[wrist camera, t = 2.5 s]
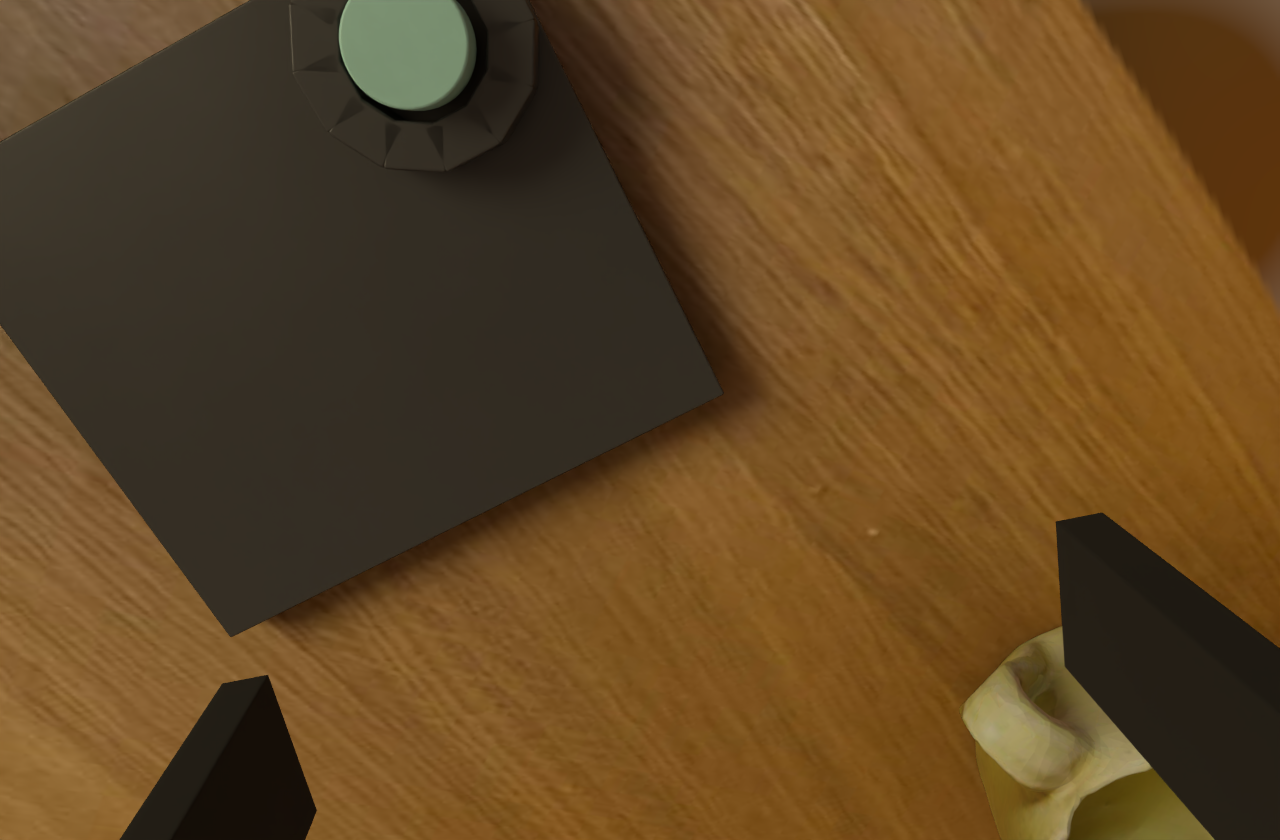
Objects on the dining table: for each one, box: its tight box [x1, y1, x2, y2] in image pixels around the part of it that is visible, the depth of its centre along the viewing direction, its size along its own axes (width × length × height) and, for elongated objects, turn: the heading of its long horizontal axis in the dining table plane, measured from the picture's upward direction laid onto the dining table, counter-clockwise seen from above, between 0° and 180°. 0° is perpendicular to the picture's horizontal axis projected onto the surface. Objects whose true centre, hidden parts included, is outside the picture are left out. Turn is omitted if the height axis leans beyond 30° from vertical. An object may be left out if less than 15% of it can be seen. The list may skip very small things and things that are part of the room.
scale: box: [0, 0, 724, 637], centre depth 26 cm, size 17×15×3 cm
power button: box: [339, 0, 477, 111], centre depth 23 cm, size 3×3×2 cm
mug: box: [959, 627, 1214, 840], centre depth 29 cm, size 12×10×10 cm
